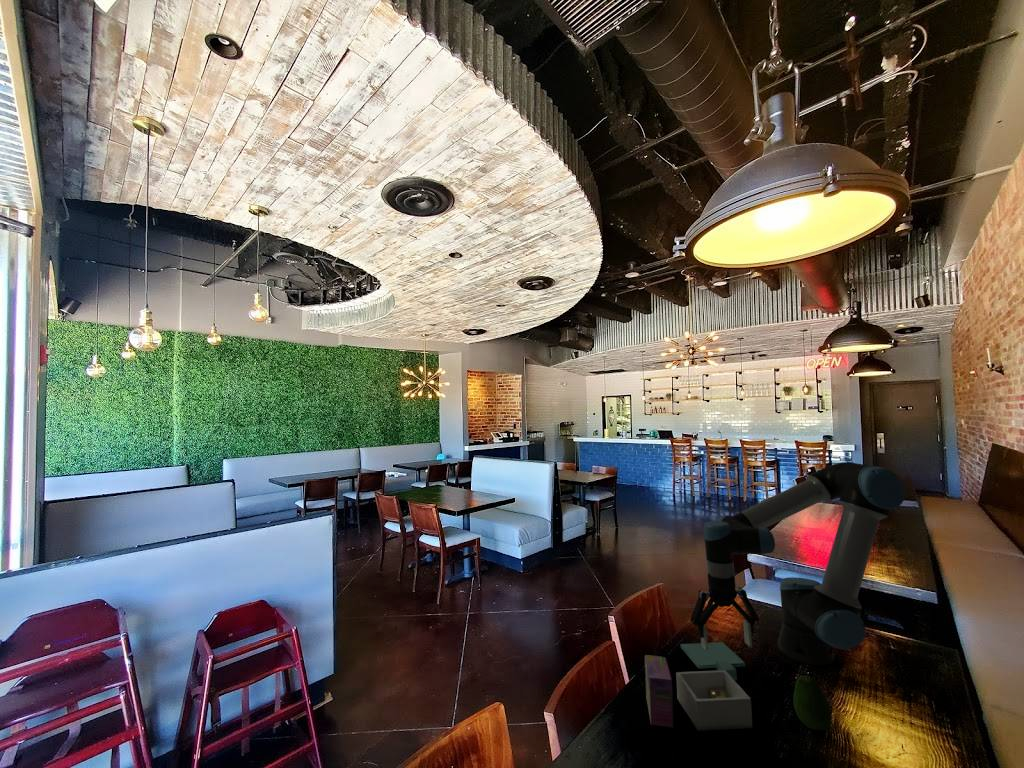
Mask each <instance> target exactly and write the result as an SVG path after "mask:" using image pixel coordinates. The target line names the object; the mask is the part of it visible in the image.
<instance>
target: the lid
mask: <svg viewBox="0 0 1024 768" xmlns="http://www.w3.org/2000/svg"><path fill="white" fill-rule="evenodd" d="M679 645H680V648H681V650H682V651H683V652H684V653H685V654H686V655H687V657H688V658H689V659H690V660H691V662H693V664H694V665H695V667H696V668H698V669H716V671H717V670H725V671H726V672H727V673H728V674H729V675H730V676H731V677H732V678H733V679H734V681H735V682H736V681H738V675H737V668H738V667H745V666H746V663H745V662H744V661H743V660H742V659H741V658H740V657H739V656H738V655H737V654H736V653H735V652H733V650H732V649H730V647H729V646H728V645H726V644H725V642H723V641H719V642H716V641H715V642H708V650H705V649H704V648H703V647H702V645H701V642H699V643H698V642H696V643H680V644H679Z"/></svg>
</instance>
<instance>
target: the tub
mask: <svg viewBox="0 0 1024 768" xmlns="http://www.w3.org/2000/svg"><path fill="white" fill-rule="evenodd" d="M675 677H676V696H677V701H678V702H679V704H680V705H681V706H682V708H683V710H684V711H685V713H686V715H687V716H688V717H689V720H690V721H691V722H692V724H693V725H694V727H695V729H696V730H697V731H698V732H700V731H701V732H702V731H704V732H705V731H718V730H719V731H723V730H724V731H725V730H739V729H740V730H741V729H753V715H752V714H753V713H752V699H751V697H750V696H749V695H748V694H747V693H746V692H745V690H743V688H742V687H741V686H740V685H739V684H738V683H737V682H736V680H735V681H734V679H733V678H732V677H731V676H730V675H729V674H728V673H727V672H726V671H725V670H717V669H716V670H703V671H702V670H700V671H699V670H698V671H697V670H696V671H681V672H680V671H677V672H675ZM721 689H724V690H726V692H727V694H728V698H711V699H710V698H709V690H721Z"/></svg>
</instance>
